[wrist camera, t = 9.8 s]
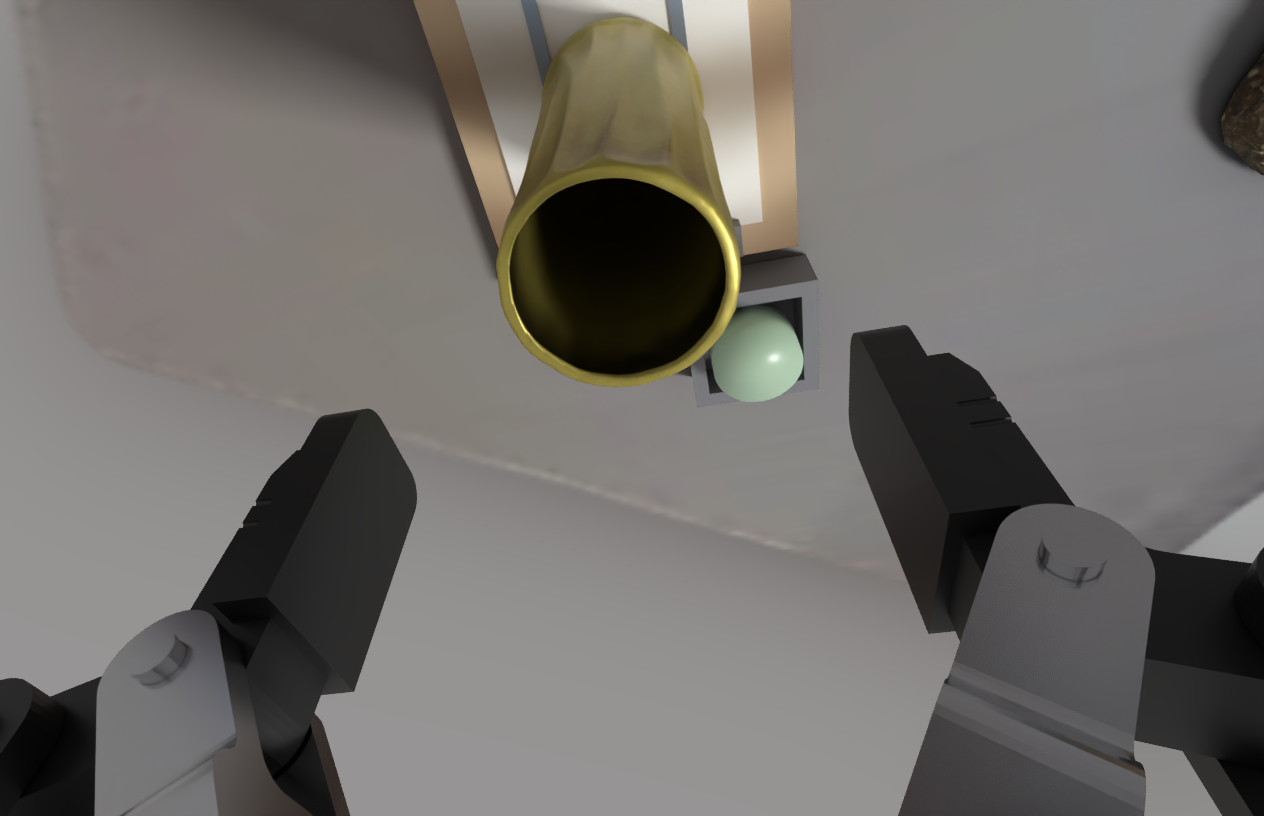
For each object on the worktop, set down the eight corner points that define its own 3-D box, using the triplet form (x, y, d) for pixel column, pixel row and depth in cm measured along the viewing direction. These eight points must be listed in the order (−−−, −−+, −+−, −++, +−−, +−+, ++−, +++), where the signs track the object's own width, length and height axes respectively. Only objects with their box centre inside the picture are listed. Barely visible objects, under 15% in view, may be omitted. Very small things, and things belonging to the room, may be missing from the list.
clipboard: (370, -150, 21) (351, -153, 20) (775, -257, 20) (787, -269, 18) (517, 285, 31) (512, 305, 29) (793, 236, 29) (802, 254, 28)
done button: (704, 312, 30) (708, 336, 28) (793, 298, 29) (802, 321, 28) (714, 382, 32) (718, 407, 30) (795, 369, 32) (804, 394, 30)
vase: (577, 207, 27) (543, 429, 16) (515, 52, 24) (414, 200, 12) (719, 159, 26) (788, 364, 15) (677, -12, 22) (725, 88, 11)
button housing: (676, 276, 31) (680, 303, 29) (805, 254, 30) (817, 279, 28) (693, 377, 34) (697, 407, 32) (808, 359, 34) (819, 388, 32)
